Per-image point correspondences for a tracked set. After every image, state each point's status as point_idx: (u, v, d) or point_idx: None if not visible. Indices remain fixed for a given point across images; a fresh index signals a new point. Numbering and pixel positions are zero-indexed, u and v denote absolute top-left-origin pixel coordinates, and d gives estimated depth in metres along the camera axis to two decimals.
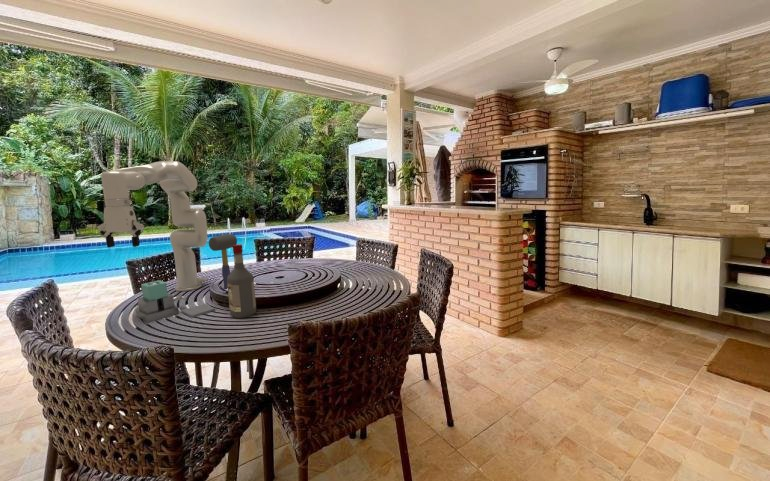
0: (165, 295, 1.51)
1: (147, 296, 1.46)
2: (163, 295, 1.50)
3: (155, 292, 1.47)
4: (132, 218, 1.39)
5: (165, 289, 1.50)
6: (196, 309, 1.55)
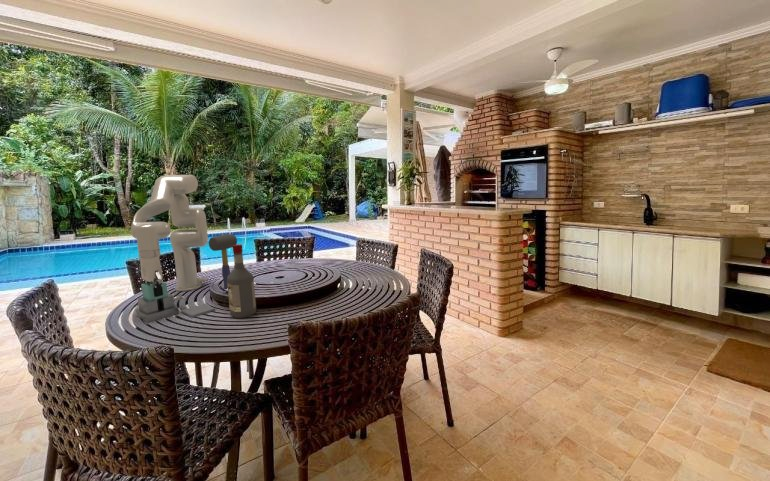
0: (165, 295, 1.51)
1: (147, 296, 1.46)
2: (163, 295, 1.50)
3: None
4: None
5: (165, 289, 1.50)
6: (196, 309, 1.55)
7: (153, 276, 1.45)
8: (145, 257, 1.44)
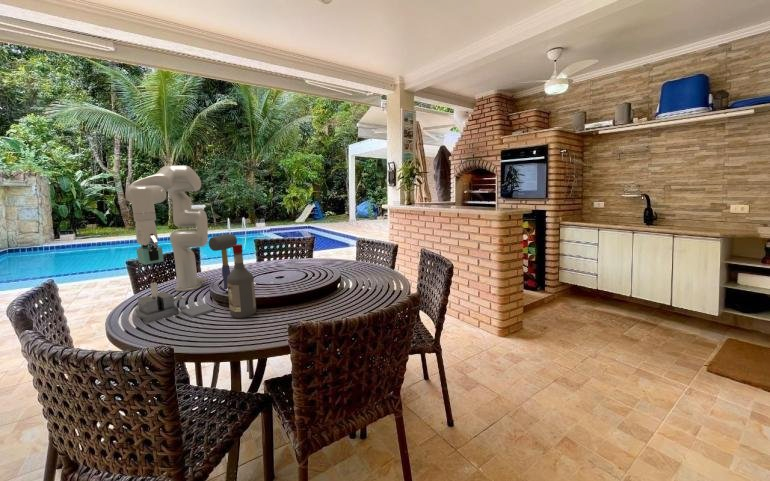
0: (161, 260, 1.48)
1: (143, 260, 1.44)
2: (159, 260, 1.48)
3: None
4: None
5: (161, 254, 1.48)
6: (196, 309, 1.55)
7: (148, 239, 1.42)
8: (140, 220, 1.41)
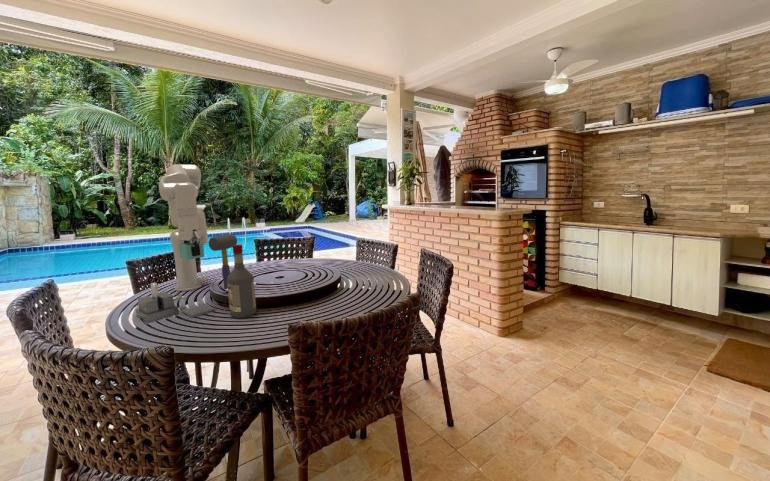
0: (202, 255, 1.50)
1: (185, 255, 1.46)
2: (200, 255, 1.50)
3: None
4: None
5: (202, 249, 1.50)
6: (196, 309, 1.55)
7: (191, 235, 1.45)
8: (184, 215, 1.44)
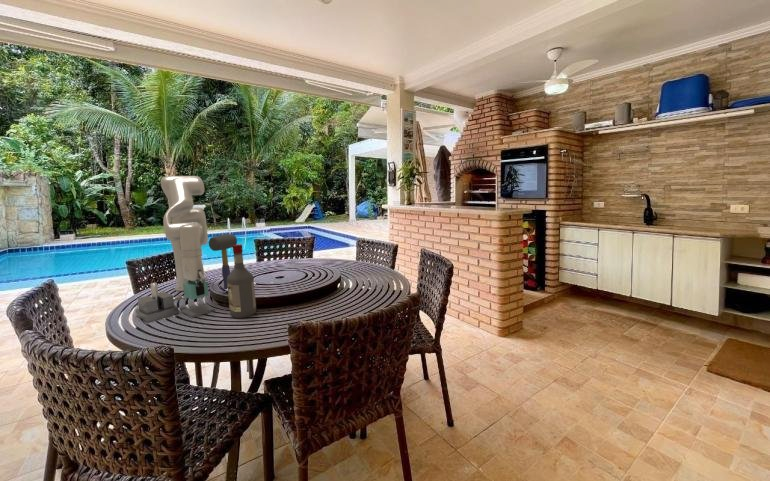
0: (206, 294, 1.53)
1: (190, 295, 1.49)
2: (204, 294, 1.53)
3: None
4: None
5: (206, 288, 1.53)
6: (196, 309, 1.55)
7: (196, 275, 1.48)
8: (188, 257, 1.47)
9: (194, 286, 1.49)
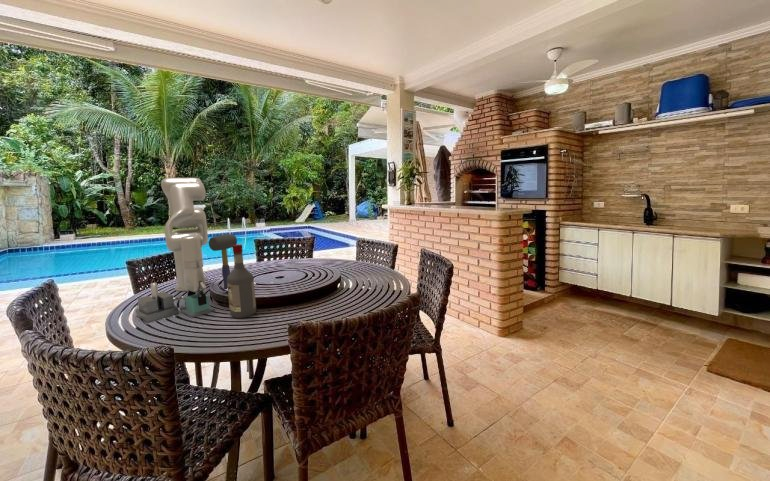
0: (207, 308, 1.55)
1: (191, 309, 1.50)
2: (206, 308, 1.54)
3: (198, 305, 1.51)
4: None
5: (207, 302, 1.54)
6: None
7: (197, 286, 1.49)
8: (190, 268, 1.48)
9: (196, 300, 1.50)
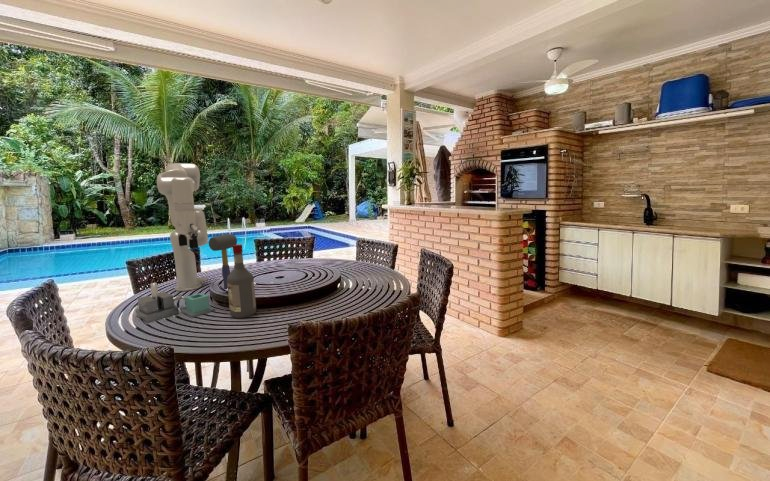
0: (207, 308, 1.55)
1: (191, 309, 1.50)
2: (206, 308, 1.54)
3: (198, 305, 1.51)
4: None
5: (207, 302, 1.54)
6: None
7: (188, 229, 1.47)
8: (180, 210, 1.46)
9: (196, 300, 1.50)
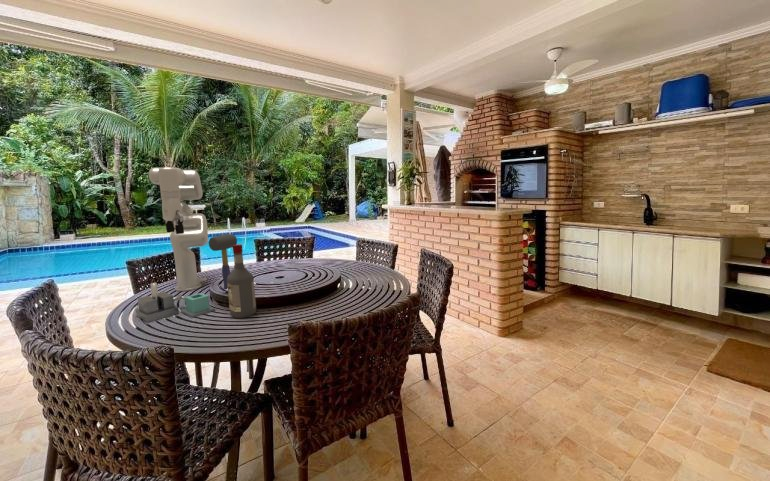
0: (207, 308, 1.55)
1: (191, 309, 1.50)
2: (206, 308, 1.54)
3: (198, 305, 1.51)
4: None
5: (207, 302, 1.54)
6: None
7: (174, 215, 1.57)
8: (167, 197, 1.56)
9: (196, 300, 1.50)
